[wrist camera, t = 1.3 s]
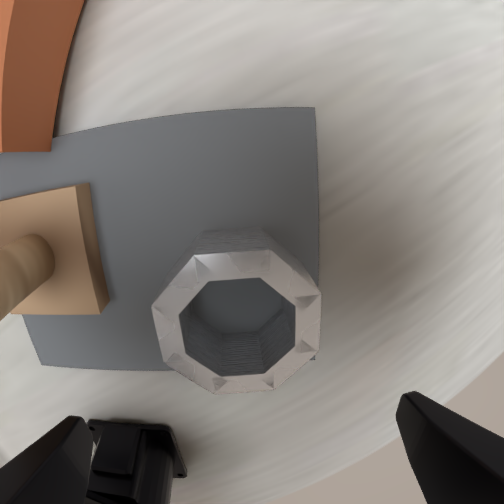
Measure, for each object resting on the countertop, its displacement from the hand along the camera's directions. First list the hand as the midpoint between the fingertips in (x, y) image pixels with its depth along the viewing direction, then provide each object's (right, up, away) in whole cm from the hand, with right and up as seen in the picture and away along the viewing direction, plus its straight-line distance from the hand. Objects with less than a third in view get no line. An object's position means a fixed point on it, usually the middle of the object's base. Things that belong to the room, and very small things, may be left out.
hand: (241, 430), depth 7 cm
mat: (-5, +4, +8) cm, 10 cm away
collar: (0, +3, +8) cm, 8 cm away
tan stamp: (-10, +5, +7) cm, 13 cm away
